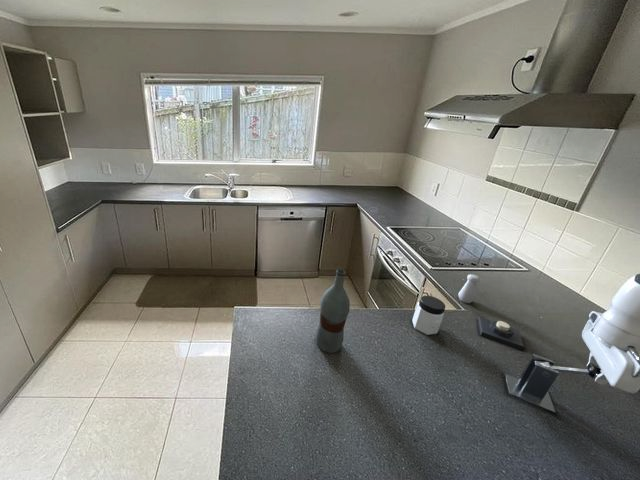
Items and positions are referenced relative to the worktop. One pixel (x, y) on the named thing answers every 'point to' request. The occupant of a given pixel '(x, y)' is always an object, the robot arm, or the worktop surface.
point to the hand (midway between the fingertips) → (594, 375)
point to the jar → (428, 315)
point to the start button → (502, 326)
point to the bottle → (333, 315)
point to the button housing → (500, 334)
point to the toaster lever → (573, 369)
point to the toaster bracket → (534, 383)
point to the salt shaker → (469, 289)
